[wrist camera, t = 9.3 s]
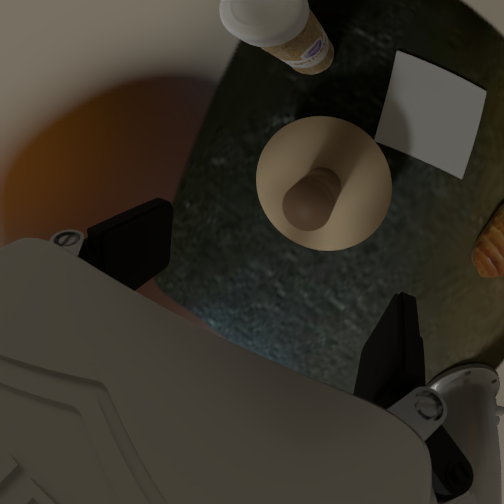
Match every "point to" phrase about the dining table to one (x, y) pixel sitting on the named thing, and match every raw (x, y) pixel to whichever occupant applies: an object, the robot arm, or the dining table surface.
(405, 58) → the mat
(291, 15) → the sprinkles bottle
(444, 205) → the dining table surface
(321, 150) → the lid
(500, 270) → the pastry
